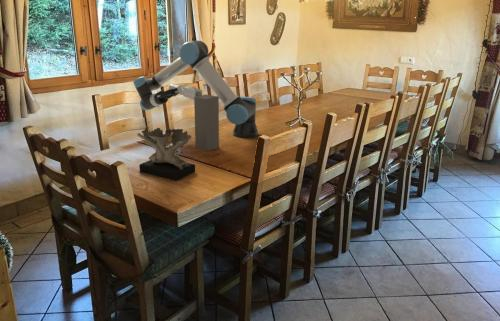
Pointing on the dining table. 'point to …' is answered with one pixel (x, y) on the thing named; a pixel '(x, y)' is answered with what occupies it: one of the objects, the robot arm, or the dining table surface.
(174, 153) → the coral branch
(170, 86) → the jaw bar
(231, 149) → the dining table surface
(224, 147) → the dining table surface
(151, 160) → the coral
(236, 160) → the dining table surface
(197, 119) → the stand
